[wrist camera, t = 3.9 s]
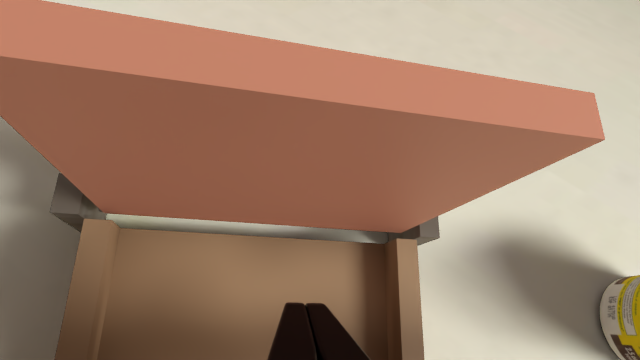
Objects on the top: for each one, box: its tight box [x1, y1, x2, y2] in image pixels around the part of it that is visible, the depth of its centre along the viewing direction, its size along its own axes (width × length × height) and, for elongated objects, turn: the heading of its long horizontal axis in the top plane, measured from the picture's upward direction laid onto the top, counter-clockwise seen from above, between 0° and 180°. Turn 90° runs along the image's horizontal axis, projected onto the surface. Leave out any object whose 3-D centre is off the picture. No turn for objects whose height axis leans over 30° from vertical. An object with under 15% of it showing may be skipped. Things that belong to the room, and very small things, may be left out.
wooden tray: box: [50, 173, 440, 360], centre depth 18 cm, size 13×17×4 cm
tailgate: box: [0, 0, 605, 233], centre depth 13 cm, size 1×14×12 cm, turn 89°
